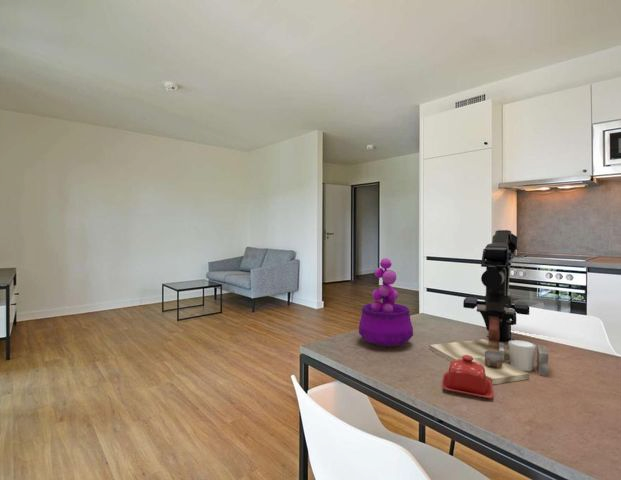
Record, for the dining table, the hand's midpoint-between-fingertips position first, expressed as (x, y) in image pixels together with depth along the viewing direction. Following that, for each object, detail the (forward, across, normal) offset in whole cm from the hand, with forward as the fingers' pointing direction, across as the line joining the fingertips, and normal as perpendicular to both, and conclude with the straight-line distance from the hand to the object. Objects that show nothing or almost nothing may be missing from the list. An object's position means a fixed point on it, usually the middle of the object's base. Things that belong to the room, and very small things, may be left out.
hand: (494, 331), depth 114 cm
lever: (+4, 0, -9) cm, 10 cm away
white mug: (+7, +7, -11) cm, 15 cm away
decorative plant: (+7, -34, -10) cm, 36 cm away
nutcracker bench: (+7, -1, -10) cm, 12 cm away
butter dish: (+7, -5, -33) cm, 34 cm away
